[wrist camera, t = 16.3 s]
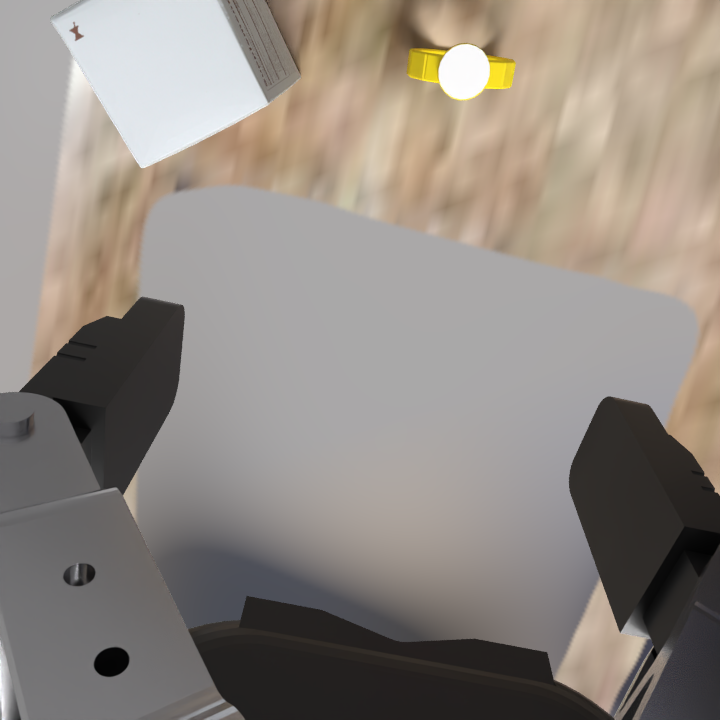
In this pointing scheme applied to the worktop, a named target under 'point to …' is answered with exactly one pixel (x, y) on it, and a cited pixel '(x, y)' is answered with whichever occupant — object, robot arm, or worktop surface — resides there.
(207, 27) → the supplement box
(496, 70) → the watch
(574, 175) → the worktop surface
